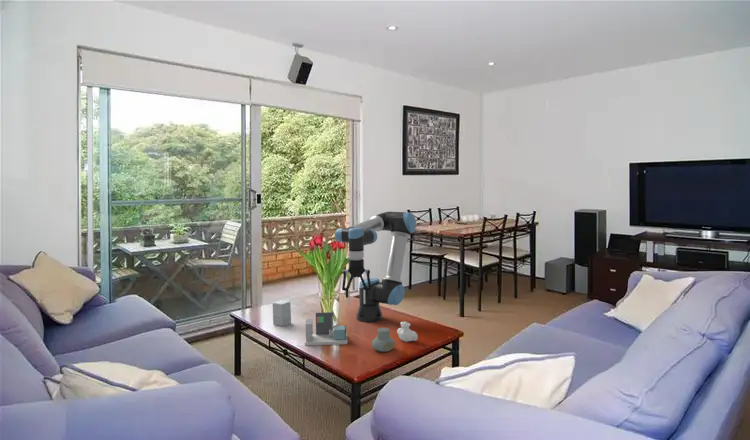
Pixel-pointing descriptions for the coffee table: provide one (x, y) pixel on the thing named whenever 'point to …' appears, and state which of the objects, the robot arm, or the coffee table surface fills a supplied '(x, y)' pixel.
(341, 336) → the block
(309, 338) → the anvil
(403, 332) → the duck figurine
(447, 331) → the coffee table surface
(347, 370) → the coffee table surface
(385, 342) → the air freshener
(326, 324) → the gauge stand
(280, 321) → the supplement box
